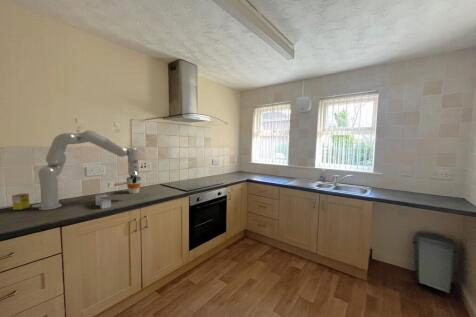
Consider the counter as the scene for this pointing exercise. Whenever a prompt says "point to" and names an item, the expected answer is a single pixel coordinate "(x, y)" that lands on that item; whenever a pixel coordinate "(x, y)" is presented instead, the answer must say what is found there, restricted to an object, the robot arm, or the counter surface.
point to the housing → (103, 200)
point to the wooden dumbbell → (112, 184)
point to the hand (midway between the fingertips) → (133, 182)
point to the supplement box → (20, 201)
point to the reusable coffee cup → (134, 186)
